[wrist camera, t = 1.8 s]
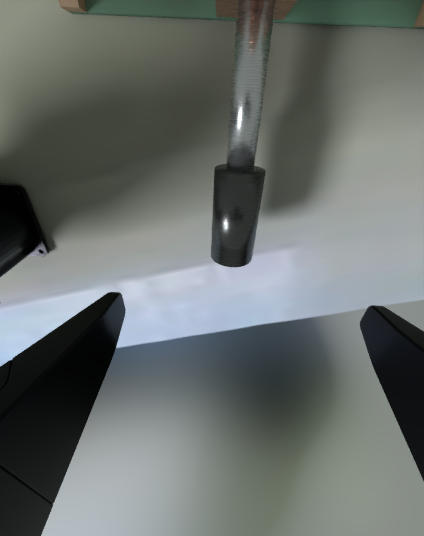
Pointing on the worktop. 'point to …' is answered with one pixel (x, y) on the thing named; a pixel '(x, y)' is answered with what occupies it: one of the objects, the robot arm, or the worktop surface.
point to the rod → (243, 131)
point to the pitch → (304, 12)
